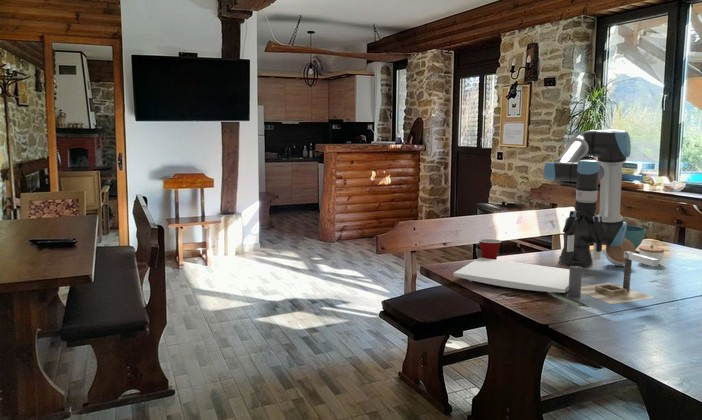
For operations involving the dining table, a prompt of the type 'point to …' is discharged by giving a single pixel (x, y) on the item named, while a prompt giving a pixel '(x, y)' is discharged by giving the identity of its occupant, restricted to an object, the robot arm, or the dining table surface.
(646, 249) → the lidded jar
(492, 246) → the plastic cup
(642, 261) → the latch
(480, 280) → the board
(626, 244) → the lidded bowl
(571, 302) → the pad
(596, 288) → the socket plate
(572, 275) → the peg
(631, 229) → the plant pot
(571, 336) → the dining table surface
